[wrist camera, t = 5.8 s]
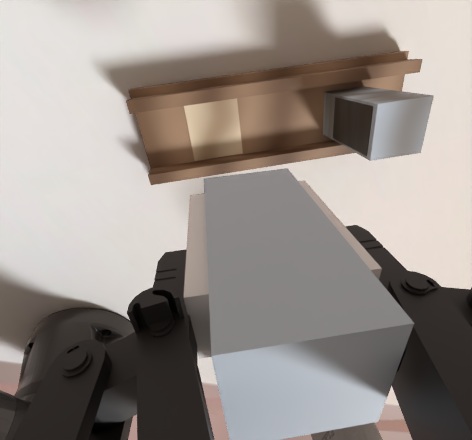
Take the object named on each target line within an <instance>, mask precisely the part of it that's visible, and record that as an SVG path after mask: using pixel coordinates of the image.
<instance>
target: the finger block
mask: <svg viewBox="0 0 472 440" xmlns="http://www.w3.org/2000/svg"><path fill="white" fill-rule="evenodd" d="M204 193H205V217H206V240H207V263H208V287H209V310H210V334H211V356H212V361H213V365H214V370H215V375H216V379H217V384H218V388H219V393H220V398H221V402H222V407H223V412H224V416H225V420H226V425H227V430H228V435H229V439H230V440H280V439H285V438H291V437H296V436H302V435H308V434H313V433H319V432H324V431H330V430H335V429H341V428H346V427H352V426H357V425H363V424H368V423H374V422H378V421H379V418H380V415H381V412H382V410H383V407H384V404H385V402H386V399H387V396H388V393H389V391H390V388H391V385H392V382H393V380H394V377H395V374H396V372H397V369H398V366H399V363H400V361H401V358H402V355H403V352H404V350H405V347H406V344H407V342H408V339H409V336H410V333H411V331H412V328H413V325H414V322H413V321H412V320H411V319H410V317H409V316H408V315H407V314H406V313H405V311H404V310H403V309H402V308H401V306H400V305H399V304H398V303H397V302H396V300H395V299H394V298H393V297H392V295H391V294H390V293H389V292H388V291H387V289H386V288H385V287H384V286H383V284H382V283H381V282H380V281H379V280H378V278H377V277H376V276H375V275H374V274H373V272H372V271H371V270H370V269H369V267H368V266H367V265H366V264H365V263H364V261H363V260H362V259H361V258H360V256H359V255H358V254H357V253H356V252H355V250H354V249H353V248H352V247H351V245H350V244H349V243H348V242H347V241H346V239H345V238H344V237H343V236H342V235H341V233H340V232H339V231H338V230H337V228H336V227H335V226H334V225H333V224H332V222H331V221H330V220H329V219H328V217H327V216H326V215H325V214H324V213H323V211H322V210H321V209H320V208H319V206H318V205H317V204H316V203H315V202H314V200H313V199H312V198H311V197H310V196H309V194H308V193H307V192H306V191H305V189H304V188H303V187H302V186H301V185H300V183H299V182H298V181H297V180H296V178H295V177H294V176H293V175H292V174H291V172H290V171H289V170H288V169H279V170H271V171H263V172H255V173H247V174H239V175H231V176H223V177H215V178H207V179H204Z"/></svg>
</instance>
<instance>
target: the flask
mask: <svg viewBox="0 0 472 440" xmlns="http://www.w3.org/2000/svg"><path fill="white" fill-rule="evenodd" d="M311 436H312V439H313V440H383V439H382V437H381V435H380V433H379V431H378V429H377V427H376V425H375V423H368V424H363V425H357V426H352V427H346V428H341V429H335V430H330V431H324V432H319V433H313V434H311Z"/></svg>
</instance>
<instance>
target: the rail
mask: <svg viewBox="0 0 472 440" xmlns="http://www.w3.org/2000/svg"><path fill="white" fill-rule="evenodd" d="M408 52H409V51H400V52H393V53H385V54H378V55H371V56H364V57H357V58H350V59H342V60H335V61H328V62H321V63H314V64H307V65H299V66H292V67H285V68H278V69H271V70H263V71H256V72H249V73H242V74H235V75H228V76H220V77H213V78H206V79H199V80H192V81H185V82H177V83H170V84H163V85H156V86H149V87H142V88H134V89H130V90H129V93H130V97H131V99H129V100H127V101H126V103H127V106H128V109H129V113H130V114H132V113H135V114H136V118H137V121H138V125H139V128H140V132H141V135H142V139H143V142H144V146H145V149H146V153H147V156H148V160H149V163H150V167H151V170H150V172H149V174H148V177H149V180H150V183H151V185H154V184H161V183H167V182H173V181H180V180H186V179H192V178H199V177H205V176H211V175H218V174H224V173H230V172H237V171H243V170H249V169H256V168H262V167H268V166H275V165H281V164H287V163H294V162H300V161H306V160H313V159H319V158H325V157H331V156H338V155H344V154H350V153H357V154H359V155H361V156H363V157H365V158H366V159H368V160H370V161H371V160H378V159H384V158H390V157H396V156H403V155H409V154H415V153H421V149H422V145H423V140H424V136H425V131H426V127H427V122H428V118H429V114H430V109H431V105H432V100H433V96H432V95H424V94H417V93H409V92H402V87H403V81H404V75H405V74H410V73H416V72H420V68H421V63H422V59H410V60H407V58H408Z"/></svg>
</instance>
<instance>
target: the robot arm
mask: <svg viewBox="0 0 472 440" xmlns="http://www.w3.org/2000/svg"><path fill="white" fill-rule="evenodd" d="M298 182H299V183H300V185H301V186H302V187H303V188H304V189H305V191H306V192H307V193H308V194H309V196H310V197H311V198H312V199H313V200H314V202H315V203H316V204H317V205H318V206H319V208H320V209H321V210H322V211H323V213H324V214H325V215H326V216H327V217H328V219H329V220H330V221H331V222H332V224H333V225H334V226H335V227H336V228H337V230H338V231H339V232H340V233H341V235H342V236H343V237H344V238H345V239H346V241H347V242H348V243H349V244H350V245H351V247H352V248H353V249H354V250H355V252H356V253H357V254H358V255H359V256H360V258H361V259H362V260H363V261H364V263H365V264H366V265H367V266H368V267H369V269H370V270H371V271H372V272H373V274H374V275H375V276H376V277H377V278H378V280H379V281H380V282H381V283H382V284H383V286H384V287H385V288H386V289H387V291H388V292H389V293H390V294H391V295H392V297H393V298H394V299H395V300H396V302H397V303H398V304H399V305H400V306H401V308H402V309H403V310H404V311H405V313H406V314H407V315H408V316H409V317H410V319H411V320H412V321H413V322H414V325H413V328H412V331H411V333H410V336H409V339H408V342H407V344H406V347H405V350H404V352H403V355H402V358H401V361H400V363H399V366H398V369H397V372H396V374H395V377H394V380H393V382H392V387H393V390H394V392H395V395H396V398H397V400H398V403H399V406H400V408H401V411H402V413H403V416H404V419H405V421H406V424H407V426H408V429H409V432H410V434H411V437H412V439H413V440H472V288H471V290H468V289H457V288H446V287H441V286H440V285H439V284H438V283H437V282H436V281H434V280H433V279H431V278H429V277H428V276H426V275H423V274H420V273H417V272H411V271H407V270H406V269H405V268H404V267H403V266H402V265H401V264H400V263H399V262H398V261H397V260H396V259H395V258H394V257H393V256H392V255H391V254H390V253H389V252H388V251H387V250H386V249H385V248H383V246H382V245H381V244H380V242H379V241H376V238H375V237H374V236H373V235H372V234H371V233H370V232H369V231H367V230H365V229H363V228H361V227H359V226H357V225H353V226H346V227H345V226H344V225H343V224H342V222H341V221H340V220H339V219H338V218H337V217H336V216H335V214H334V213H333V212H332V211H331V210H330V209H329V208H328V207H327V205H326V204H325V203H324V202H323V201H322V200H321V199H320V197H319V196H318V195H317V194H316V193H315V192H314V191H313V189H312V188H311V187H310V186H309V185H308V184H307V183H306V181H298ZM127 314H128V316H129V319H130V321H131V322H130V321H128V320H127V319H125V318H123V317H121V316H119V315H117V314H114V313H112V312H108V311H105V310H100V309H92V308H76V309H68V310H64V311H60V312H57V313H54V314H52V315H50V316H48V317H47V318H45V319H44V320H42V321H41V322H40V323H39V324H38V325H37V327H36V328H35V330H34V332H33V333H32V335H31V337H30V338H29V340H28V342H27V344H26V347H25V352H24V358H23V363H22V368H21V373H20V379H19V384H18V389H17V392H16V394H15V396H13V395H10V394H8V393H5V392H3V391H0V440H128V436H129V432H130V427H131V423H132V418H133V416H134V415H136V414H137V434H138V440H214V436H213V432H212V427H211V423H210V418H209V414H208V409H207V405H206V400H205V396H204V391H203V387H202V382H201V378H200V373H199V369H198V366H197V352H198V356H199V358H206V357H212V356H211V334H210V310H209V287H208V263H207V240H206V217H205V193H204V194H196V195H190V205H189V221H188V236H187V250H180V251H173V252H166V253H165V254H164V255H163V256H162V257H161V259H160V260H159V261H158V265H157V270H156V275H155V282H154V285H153V288H150V289H148V290H145V291H143V292H141V293H140V294H139V295H137V296H136V297H135V298H134V299H133V300H132V302H131V303H130V304H129V307H128V311H127Z"/></svg>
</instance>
